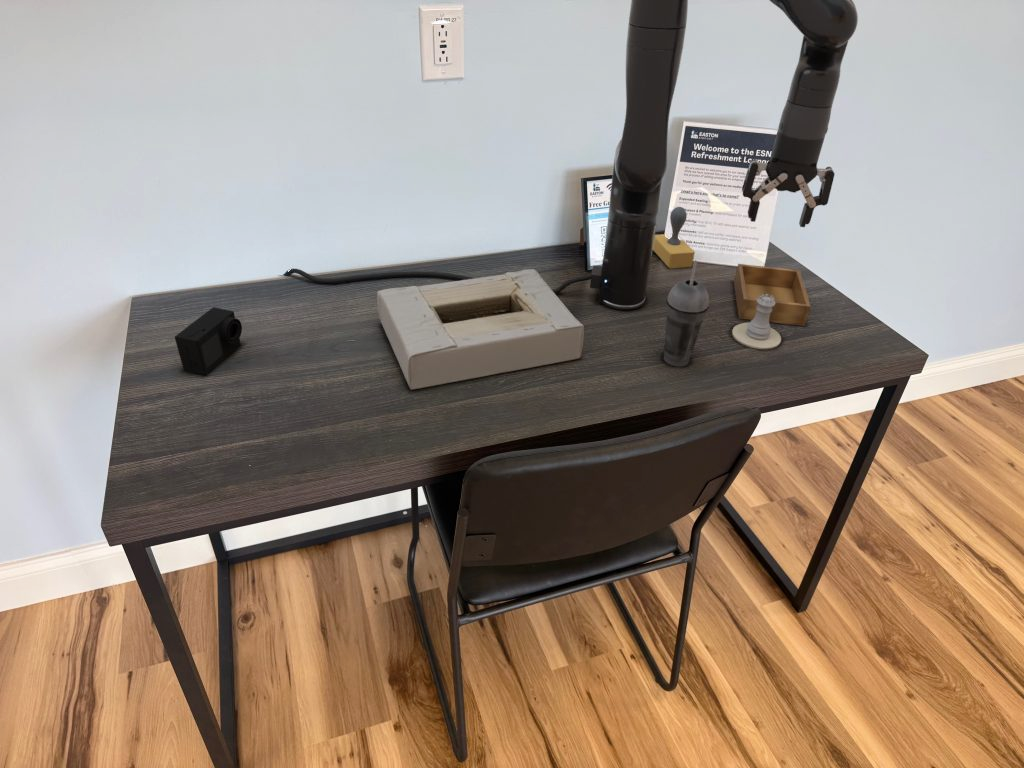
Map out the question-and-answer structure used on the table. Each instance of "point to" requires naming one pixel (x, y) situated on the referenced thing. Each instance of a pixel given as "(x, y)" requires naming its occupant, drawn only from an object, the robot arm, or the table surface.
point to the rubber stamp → (674, 243)
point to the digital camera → (208, 340)
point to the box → (477, 327)
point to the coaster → (746, 340)
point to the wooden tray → (772, 293)
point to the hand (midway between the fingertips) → (776, 222)
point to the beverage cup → (684, 319)
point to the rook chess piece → (761, 319)
